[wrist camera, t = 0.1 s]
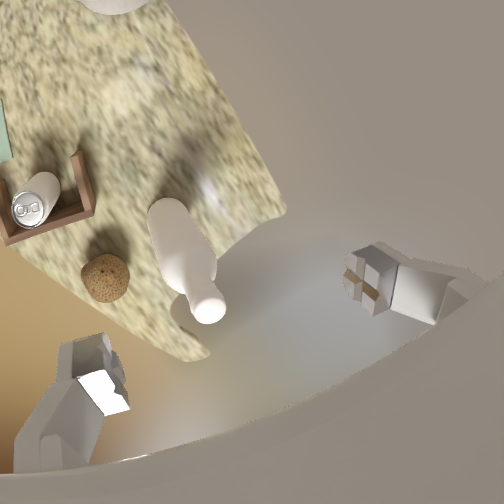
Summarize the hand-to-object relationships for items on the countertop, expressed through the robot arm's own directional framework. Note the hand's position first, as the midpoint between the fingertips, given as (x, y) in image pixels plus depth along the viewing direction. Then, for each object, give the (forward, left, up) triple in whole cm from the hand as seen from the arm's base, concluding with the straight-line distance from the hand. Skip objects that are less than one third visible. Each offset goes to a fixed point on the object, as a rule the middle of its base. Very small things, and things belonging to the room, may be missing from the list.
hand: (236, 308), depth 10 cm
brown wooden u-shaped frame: (+4, -19, -49) cm, 52 cm away
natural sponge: (+21, -12, -49) cm, 55 cm away
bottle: (+15, +2, -49) cm, 51 cm away
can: (+3, -19, -49) cm, 53 cm away
